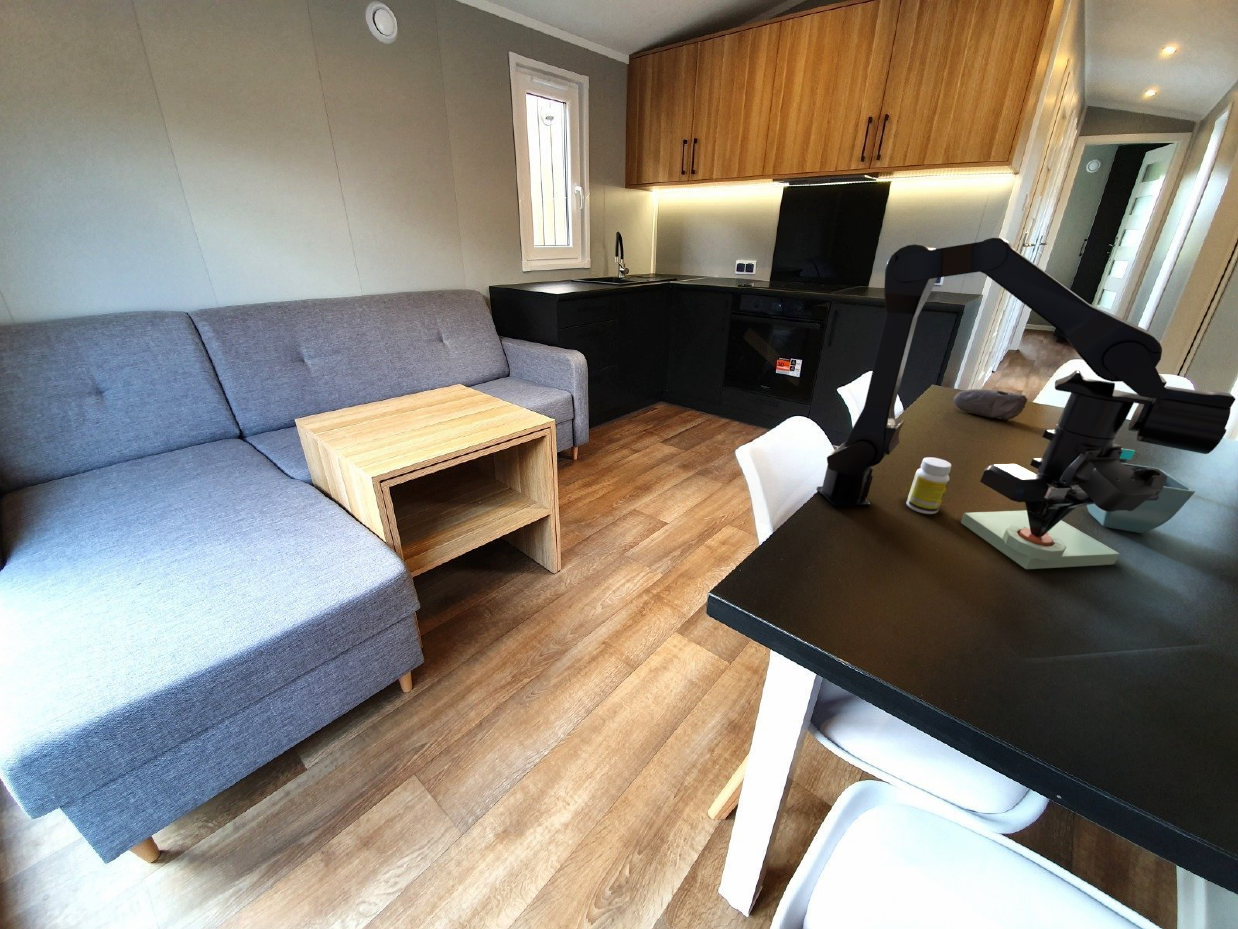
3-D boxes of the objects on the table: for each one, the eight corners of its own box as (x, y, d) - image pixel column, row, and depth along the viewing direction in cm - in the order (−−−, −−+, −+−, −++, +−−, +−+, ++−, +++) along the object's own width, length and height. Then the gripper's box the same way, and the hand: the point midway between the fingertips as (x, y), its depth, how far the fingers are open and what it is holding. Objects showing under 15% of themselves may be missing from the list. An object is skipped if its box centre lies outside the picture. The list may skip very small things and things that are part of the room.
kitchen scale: (1025, 573, 66) (1035, 552, 65) (955, 523, 78) (963, 503, 76) (1119, 568, 68) (1131, 547, 66) (1038, 519, 79) (1046, 500, 78)
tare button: (1031, 554, 67) (1036, 543, 66) (1009, 539, 70) (1014, 528, 69) (1054, 552, 67) (1060, 542, 66) (1031, 538, 70) (1036, 527, 70)
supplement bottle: (942, 516, 79) (959, 470, 76) (911, 512, 80) (926, 466, 76) (931, 502, 83) (947, 457, 80) (901, 498, 84) (916, 454, 81)
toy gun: (1129, 463, 102) (1140, 442, 99) (1119, 479, 94) (1131, 456, 92) (1069, 448, 108) (1079, 428, 106) (1057, 462, 101) (1066, 440, 99)
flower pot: (1132, 515, 82) (1159, 467, 78) (1166, 543, 74) (1198, 491, 70) (1069, 505, 84) (1092, 458, 80) (1095, 531, 76) (1122, 480, 73)
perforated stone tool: (947, 410, 130) (956, 385, 127) (952, 406, 134) (961, 381, 131) (1016, 425, 121) (1027, 398, 118) (1019, 420, 124) (1030, 394, 121)
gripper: (1083, 458, 53) (1026, 575, 59) (1228, 455, 55) (1158, 567, 62) (999, 422, 63) (958, 525, 69) (1124, 421, 65) (1073, 521, 72)
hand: (1036, 535), depth 68 cm, fingers closed, pressing on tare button
